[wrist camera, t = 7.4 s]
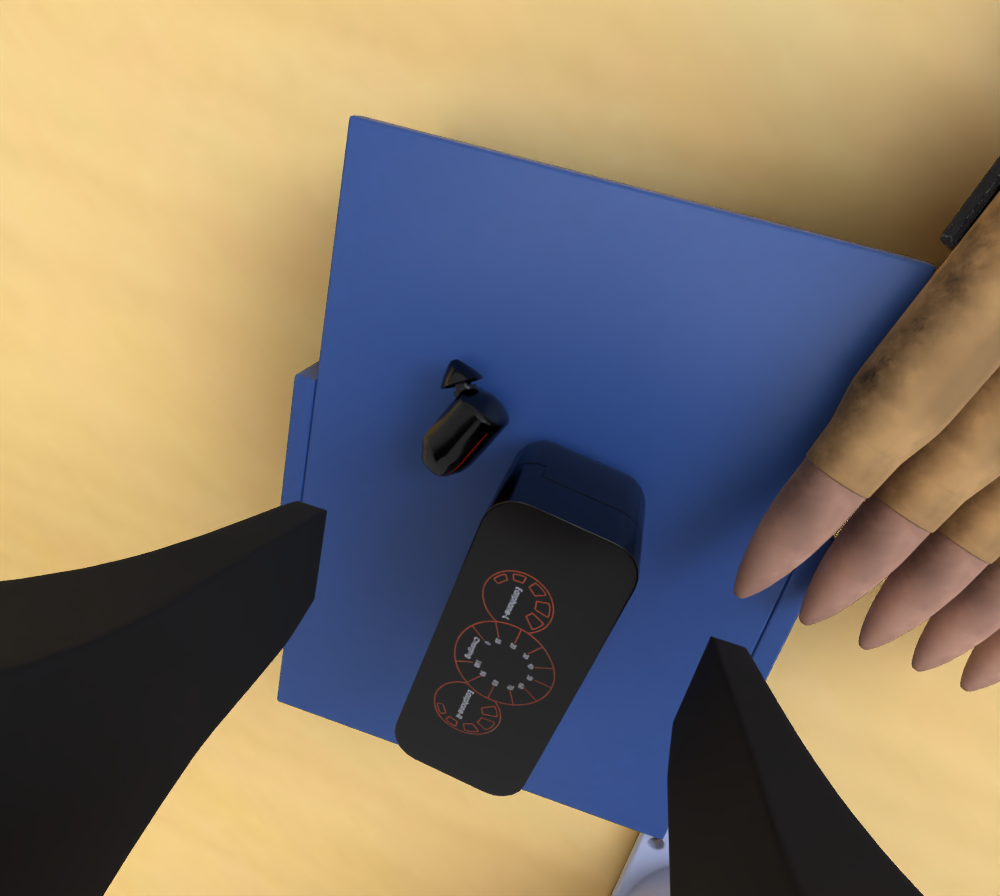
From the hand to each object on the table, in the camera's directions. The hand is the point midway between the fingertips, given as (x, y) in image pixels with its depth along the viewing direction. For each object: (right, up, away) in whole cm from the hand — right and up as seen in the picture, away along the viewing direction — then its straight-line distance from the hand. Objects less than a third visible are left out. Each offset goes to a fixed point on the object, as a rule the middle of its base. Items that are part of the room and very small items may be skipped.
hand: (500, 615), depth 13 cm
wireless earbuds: (0, +1, +3) cm, 3 cm away
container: (+2, +3, +7) cm, 8 cm away
